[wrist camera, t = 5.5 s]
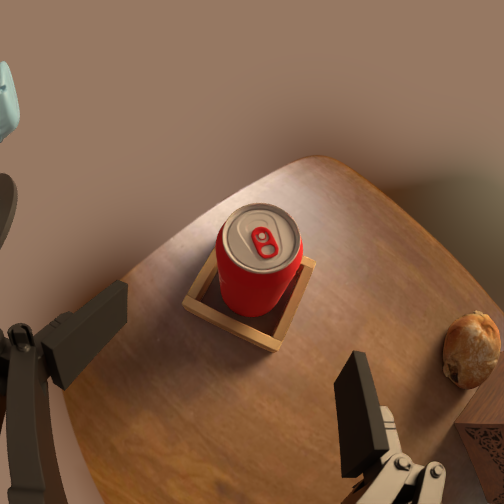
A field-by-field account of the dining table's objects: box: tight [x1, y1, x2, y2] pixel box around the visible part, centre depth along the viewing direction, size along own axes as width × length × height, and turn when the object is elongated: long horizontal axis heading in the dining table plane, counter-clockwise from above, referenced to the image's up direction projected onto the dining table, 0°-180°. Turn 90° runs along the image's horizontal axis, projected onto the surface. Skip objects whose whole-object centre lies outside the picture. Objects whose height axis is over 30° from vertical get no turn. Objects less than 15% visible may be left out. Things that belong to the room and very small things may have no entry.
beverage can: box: [215, 203, 303, 317], centre depth 23 cm, size 6×6×12 cm
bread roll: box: [443, 311, 501, 389], centre depth 25 cm, size 10×10×8 cm
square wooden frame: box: [182, 247, 316, 353], centre depth 28 cm, size 10×10×2 cm
